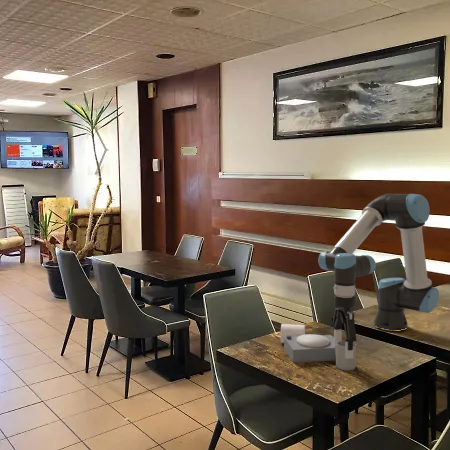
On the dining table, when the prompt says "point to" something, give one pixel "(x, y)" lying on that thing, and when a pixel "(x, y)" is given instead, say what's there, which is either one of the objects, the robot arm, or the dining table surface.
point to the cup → (340, 357)
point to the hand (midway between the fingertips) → (343, 351)
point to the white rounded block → (291, 331)
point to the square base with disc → (310, 348)
